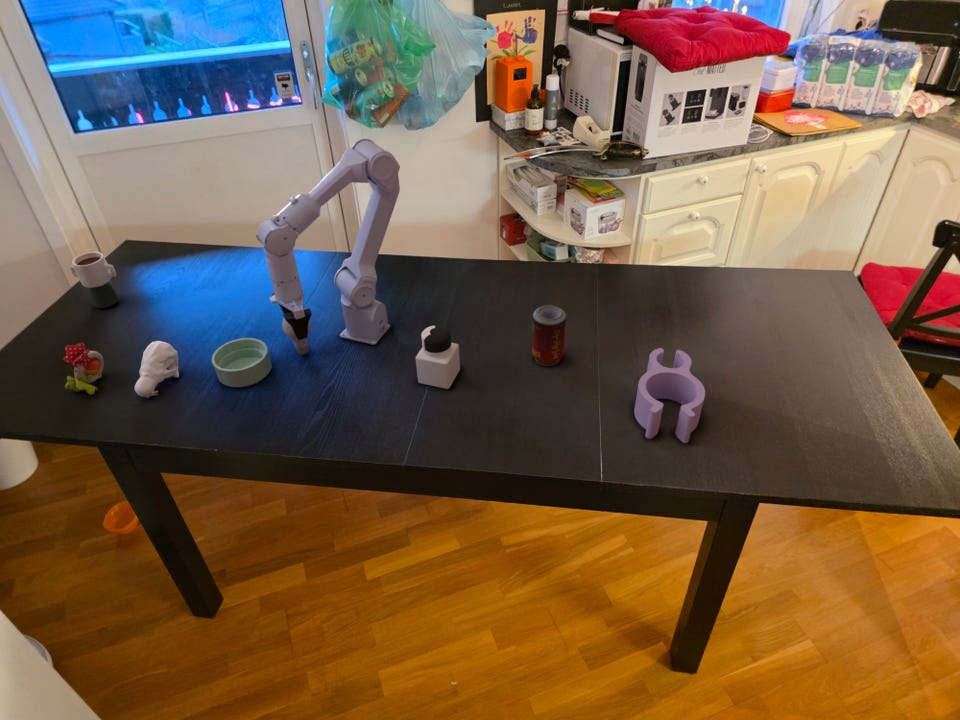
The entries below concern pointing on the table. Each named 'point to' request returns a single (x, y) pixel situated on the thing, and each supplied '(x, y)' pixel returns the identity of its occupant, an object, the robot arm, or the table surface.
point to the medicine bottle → (437, 358)
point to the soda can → (548, 334)
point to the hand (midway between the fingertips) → (297, 329)
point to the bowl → (242, 362)
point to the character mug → (96, 278)
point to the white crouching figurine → (156, 367)
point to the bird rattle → (83, 367)
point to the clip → (669, 394)
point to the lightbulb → (299, 344)
